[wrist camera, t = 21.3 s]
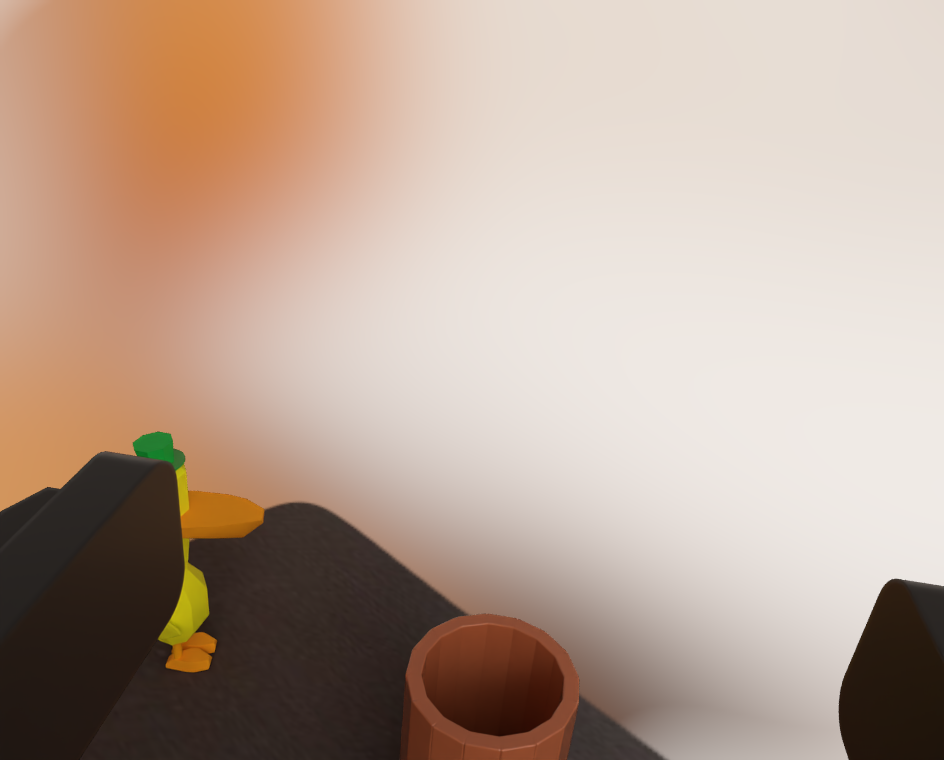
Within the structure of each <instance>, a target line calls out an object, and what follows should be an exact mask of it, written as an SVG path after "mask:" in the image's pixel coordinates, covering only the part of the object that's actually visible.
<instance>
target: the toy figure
mask: <svg viewBox="0 0 944 760" xmlns="http://www.w3.org/2000/svg"><path fill="white" fill-rule="evenodd" d="M133 446H134V451H135V453H136V455H137V456H139V457H145V458H152V459H158V460H164V461H168V462H170V463H171V464H172V465H173V467H174V469H175V471H176V475H177V483H178V494H179V505H180V516H181V528H182V539H183V550H184V561H185V573H184V582H183V587H182V591H181V595H180V598H179V601H178V604H177V607H176V609H175V611H174V613H173V615H172V617H171V619H170V621H169V622H168V624H167V625H166V627H165V628H164V630H163V632H162V633H161V635H160V636H159V638H158V640H159V641H162V642H164V643H167V644H170V645H172V646H173V648H172V653H173V654H172V655H170V656H169V658H168V660H167V663H166V668H169V669H174V670H179V671H184V672H198V671H203V670H208V669H209V666H210V663H211V659H212V657H211V656H210V655H208V654H209V653H213V652H215V648H216V643H217V640H216V639H215V638H213V637H211V636H209V635H208V634H206V633H204V632H200V633H195V632H196V630H197V629H198V628H199V627H200V625H201V624H202V623H203V622H204V620H205V619H206V618H207V617H208V615H209V606H208V593H207V586H206V583H205V579H204V576H203V573H202V572H201V571H200V570H198V569H197V568H195V567H194V566H192V565H191V564H189V563H188V552H189V538H241V537H244V536H246V535H247V534H248V533H250V532H251V531H252V530H254V529H255V528H257V527H258V526H259V525H261V524H262V523H263V519H264V509H263V508H262V507H260V506H258V505H256V504H255V503H253V502H251V501H249V500H248V499H245V498H241V497H237V496H233V495H228V494H220V493H210V492H201V491H188V487H187V475H186V470H185V466H184V462H185V455H184V454H183V452H181V451H179V450H177V449H173V440H172V437H171V434H169V433H163V432H155V433H151V434H146V435H143V436H141V437H140V438H139V439H137V440H136V441H135V442H133Z"/></svg>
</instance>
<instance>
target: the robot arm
mask: <svg viewBox="0 0 944 760" xmlns="http://www.w3.org/2000/svg"><path fill="white" fill-rule="evenodd" d="M184 573H185V561H184V550H183V539H182V528H181V516H180V505H179V494H178V483H177V475H176V471H175V469H174V467H173V465H172V464H171V463H170V462H168V461H164V460H158V459H152V458H145V457H139V456H133V455H126V454H120V453H113V452H107V451H105V452H100V453H99V454H97V455H95V456H94V457H93V458H92V459H91V460H90V461H89V462H88V463H87V464H86V465H85V466H84V467H83V468H82V469H81V470H80V471H79V472H78V473H77V474H76V475H74V477H72V478H71V479H70V480H69V481H68V482H67V483H66V484H65V485H64V486H63V487H62V488H61V489H57V488H51V487H47V488H45V489H43V490H41V491H39V492H37V493H35V494H33V495H31V496H30V497H28V498H26V499H24V500H22V501H20V502H18V503H16V504H14V505H12V506H10V507H9V508H6V509H4V510H2V511H1V512H0V760H79V759H80V758H81V756H82V754H83V753H84V751H85V750H86V748H87V747H88V745H89V744H90V742H91V741H92V739H93V738H94V736H95V734H96V733H97V731H98V730H99V728H100V727H101V725H102V724H103V722H104V721H105V719H106V718H107V716H108V715H109V713H110V711H111V710H112V708H113V707H114V705H115V704H116V702H117V701H118V699H119V698H120V696H121V695H122V693H123V691H124V690H125V688H126V687H127V685H128V684H129V682H130V681H131V679H132V678H133V676H134V675H135V673H136V671H137V670H138V668H139V667H140V665H141V664H142V662H143V661H144V659H145V658H146V656H147V655H148V653H149V651H150V650H151V648H152V647H153V645H154V644H155V642H156V641H157V639H158V638H159V636H160V635H161V633H162V632H163V630H164V628H165V627H166V625H167V624H168V622H169V621H170V619H171V617H172V615H173V613H174V611H175V609H176V607H177V604H178V601H179V598H180V595H181V591H182V587H183V582H184ZM839 723H840V731H841V736H842V740H843V743H844V746H845V749H846V753H847V755H848V759H849V760H944V586H939V585H933V584H926V583H920V582H914V581H907V580H901V579H892V580H890V581H888V582H887V583H886V584H885V585H884V587H883V588H882V590H881V592H880V594H879V596H878V598H877V600H876V603H875V605H874V607H873V610H872V612H871V615H870V617H869V619H868V622H867V624H866V627H865V629H864V631H863V633H862V636H861V638H860V640H859V643H858V645H857V648H856V650H855V652H854V655H853V657H852V659H851V662H850V664H849V666H848V669H847V671H846V673H845V676H844V679H843V682H842V686H841V690H840V698H839Z"/></svg>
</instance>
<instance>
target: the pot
mask: <svg viewBox="0 0 944 760" xmlns="http://www.w3.org/2000/svg"><path fill="white" fill-rule="evenodd" d="M578 704H579V676H578V674H577V672H576V670H575V668H574V665H573V663H572V661H571V659H570V657H569V655H568V653H567V652H566V650H565V649H563V648H562V647H561V646H560V645H559V644H558V643H557V642H556V641H555V640H554V639H553V638H552V637H551V636H549V634H547V633H546V632H545V631H543V630H541V629H539V628H537V627H535V626H532V625H530V624H528V623H526V622H524V621H522V620H520V619H516V618H512V617H506V616H500V615H493V614H477V615H469V616H460V617H457V618H454V619H451V620H449V621H447V622H445V623H443V624H441V625H439V626H437V627H434V628H432V629H431V630H430V631H429V632H428V633H427V634H426V635H425V636H424V637H423V638H422V639H421V640H420V642H419V643H418V644H417V645H416V646H415V647H414V648H413V650H412V652H411V656H410V660H409V663H408V667H407V671H406V676H405V691H404V705H403V720H402V734H401V749H400V760H567V757H568V753H569V748H570V743H571V738H572V733H573V728H574V724H575V719H576V714H577V709H578Z"/></svg>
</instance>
